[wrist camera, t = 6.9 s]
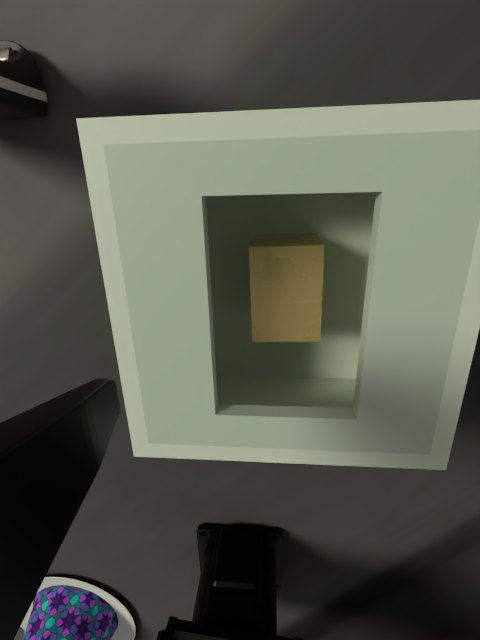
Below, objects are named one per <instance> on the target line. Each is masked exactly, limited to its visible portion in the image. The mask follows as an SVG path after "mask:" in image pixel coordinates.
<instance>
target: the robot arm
mask: <svg viewBox="0 0 480 640" xmlns="http://www.w3.org/2000/svg"><path fill="white" fill-rule="evenodd" d="M119 414H120V403H119V397H118V392H117V386H116V383H115V381H114V380H113V379H110V378H98V379H95V380H93V381H90V382H88V383H86V384H84V385H82V386H80V387H77V388H75V389H73V390H71V391H69V392H66V393H64V394H62V395H60V396H58V397H56V398H53V399H51V400H49V401H47V402H45V403H43V404H40V405H38V406H36V407H34V408H32V409H29V410H27V411H25V412H23V413H21V414H19V415H16V416H14V417H12V418H10V419H8V420H6V421H3V422H1V423H0V640H14V638H15V636H16V634H17V632H18V630H19V628H20V626H21V624H22V622H23V620H24V618H25V616H26V614H27V612H28V610H29V608H30V606H31V604H32V602H33V600H34V598H35V596H36V594H37V592H38V590H39V588H40V586H41V584H42V582H43V580H44V578H45V576H46V574H47V572H48V570H49V568H50V566H51V564H52V562H53V560H54V558H55V556H56V554H57V552H58V550H59V548H60V546H61V544H62V542H63V540H64V538H65V536H66V534H67V532H68V530H69V528H70V526H71V524H72V522H73V520H74V518H75V516H76V514H77V512H78V510H79V508H80V506H81V504H82V502H83V500H84V498H85V496H86V494H87V492H88V490H89V488H90V487H91V485H92V483H93V481H94V479H95V476H96V474H97V472H98V470H99V468H100V465H101V463H102V461H103V458H104V455H105V453H106V450H107V447H108V445H109V442H110V439H111V436H112V434H113V431H114V428H115V426H116V423H117V420H118V418H119ZM197 540H198V550H199V560H200V570H201V575H200V580H199V586H198V591H197V596H196V602H195V607H194V613H193V618H192V621H186V620H180V619H178V617H173V616H170V617H169V620H168V624H167V627H166V629H163V630H161V631H159V632H158V636H157V640H303V639H302V638H299V637H294V638H288V637H282V636H277V607H276V590H279V589H280V588H281V561H282V532H281V531H280V530H279V529H274V528H258V527H241V526H224V525H208V524H201V525H199V526H198V530H197Z"/></svg>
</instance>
